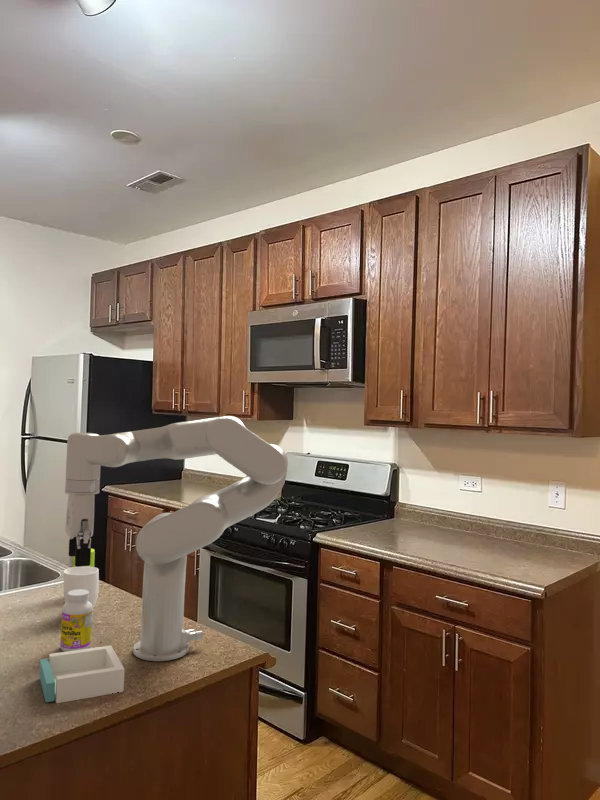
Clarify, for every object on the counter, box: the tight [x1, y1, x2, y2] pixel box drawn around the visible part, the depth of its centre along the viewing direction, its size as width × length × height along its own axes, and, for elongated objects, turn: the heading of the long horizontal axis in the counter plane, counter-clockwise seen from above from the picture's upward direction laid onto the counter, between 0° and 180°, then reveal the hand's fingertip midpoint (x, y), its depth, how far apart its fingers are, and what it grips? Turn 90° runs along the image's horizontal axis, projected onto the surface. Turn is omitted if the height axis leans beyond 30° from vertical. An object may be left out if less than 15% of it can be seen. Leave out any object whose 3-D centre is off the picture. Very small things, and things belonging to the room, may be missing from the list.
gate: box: [38, 658, 55, 703], centre depth 124 cm, size 2×12×4 cm, turn 28°
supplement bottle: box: [60, 589, 94, 652], centre depth 145 cm, size 7×7×13 cm
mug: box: [63, 566, 100, 612], centre depth 168 cm, size 12×9×12 cm
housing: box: [48, 644, 125, 704], centre depth 127 cm, size 12×13×4 cm
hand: (79, 560), depth 145 cm, fingers open, 9 cm apart
